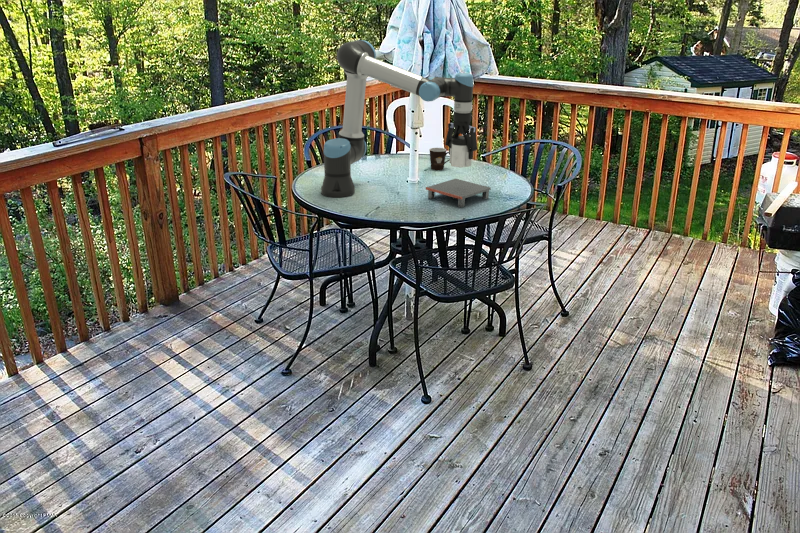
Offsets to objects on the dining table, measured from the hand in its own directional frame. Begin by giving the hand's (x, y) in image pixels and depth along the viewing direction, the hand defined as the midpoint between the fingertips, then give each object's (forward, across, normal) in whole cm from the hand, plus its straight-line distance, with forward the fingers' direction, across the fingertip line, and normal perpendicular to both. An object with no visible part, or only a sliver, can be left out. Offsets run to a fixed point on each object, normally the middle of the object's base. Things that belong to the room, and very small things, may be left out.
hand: (460, 164), depth 286 cm
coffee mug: (+16, -38, +32) cm, 52 cm away
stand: (+15, 0, 0) cm, 15 cm away
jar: (+1, 0, 0) cm, 1 cm away
